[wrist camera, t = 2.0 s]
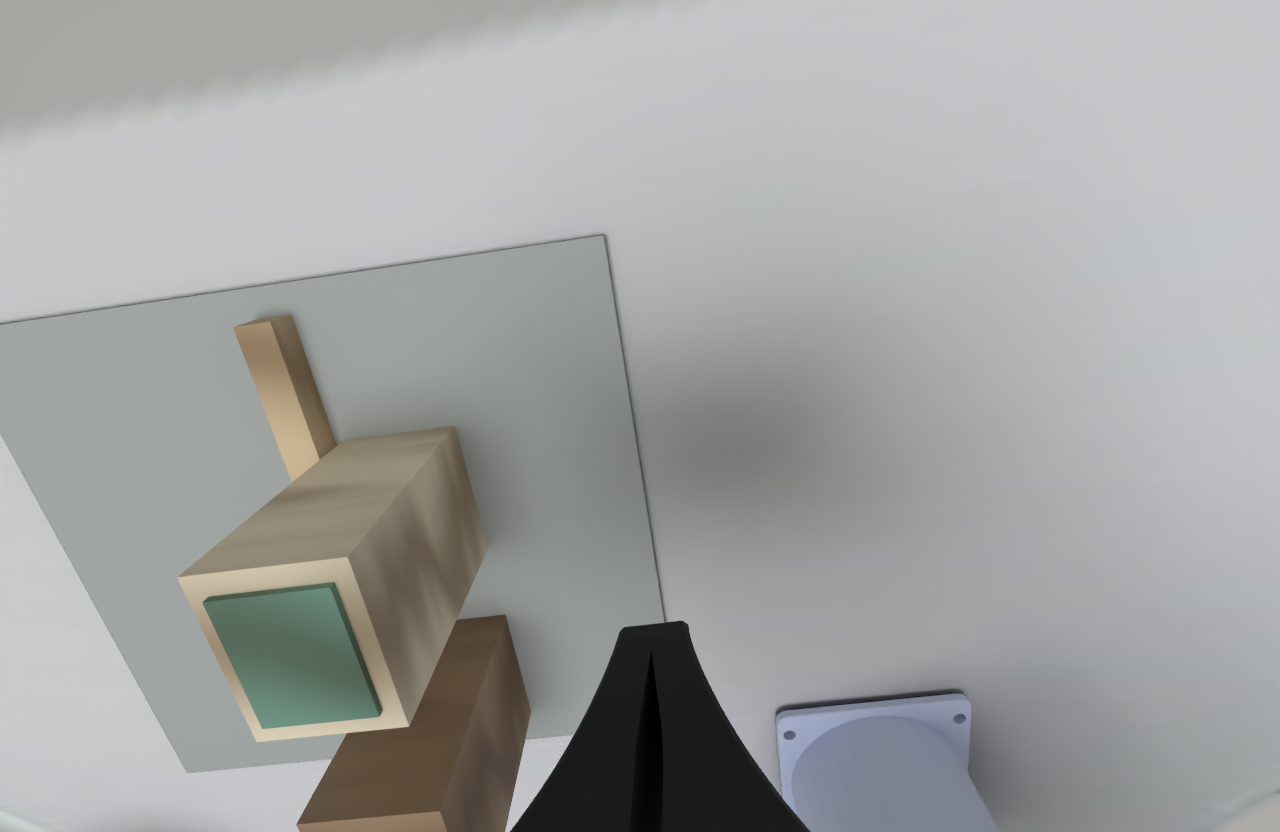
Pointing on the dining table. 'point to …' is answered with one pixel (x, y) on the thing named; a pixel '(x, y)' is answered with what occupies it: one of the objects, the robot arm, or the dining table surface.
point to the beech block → (343, 587)
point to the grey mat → (356, 408)
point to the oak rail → (286, 391)
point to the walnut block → (437, 748)
